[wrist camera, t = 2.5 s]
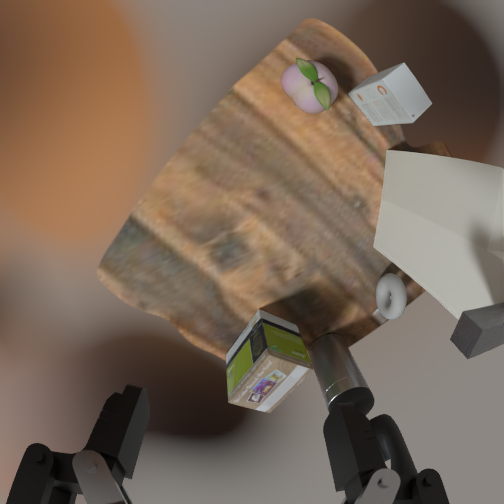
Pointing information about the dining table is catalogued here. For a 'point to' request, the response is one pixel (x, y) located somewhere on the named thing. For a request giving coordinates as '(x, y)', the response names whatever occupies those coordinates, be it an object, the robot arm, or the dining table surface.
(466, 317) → the metal bar
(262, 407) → the tea box
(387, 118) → the small box
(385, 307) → the donut
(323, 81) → the decorative fruit
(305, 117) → the dining table surface
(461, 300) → the two tier stand
